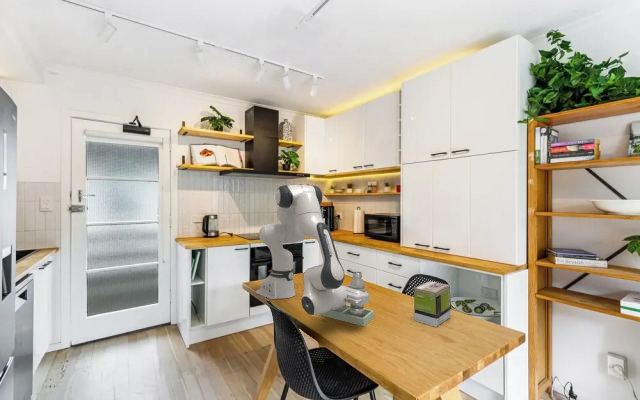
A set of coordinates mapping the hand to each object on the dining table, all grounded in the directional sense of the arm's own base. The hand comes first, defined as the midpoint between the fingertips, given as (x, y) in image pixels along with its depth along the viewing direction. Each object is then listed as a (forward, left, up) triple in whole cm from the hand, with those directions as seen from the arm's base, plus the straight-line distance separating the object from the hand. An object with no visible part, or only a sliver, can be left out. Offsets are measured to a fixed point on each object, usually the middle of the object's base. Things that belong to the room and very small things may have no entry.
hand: (358, 289), depth 130 cm
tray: (-5, -1, -12) cm, 14 cm away
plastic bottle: (0, -1, -12) cm, 12 cm away
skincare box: (-11, -1, -13) cm, 17 cm away
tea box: (+27, +17, -13) cm, 35 cm away
